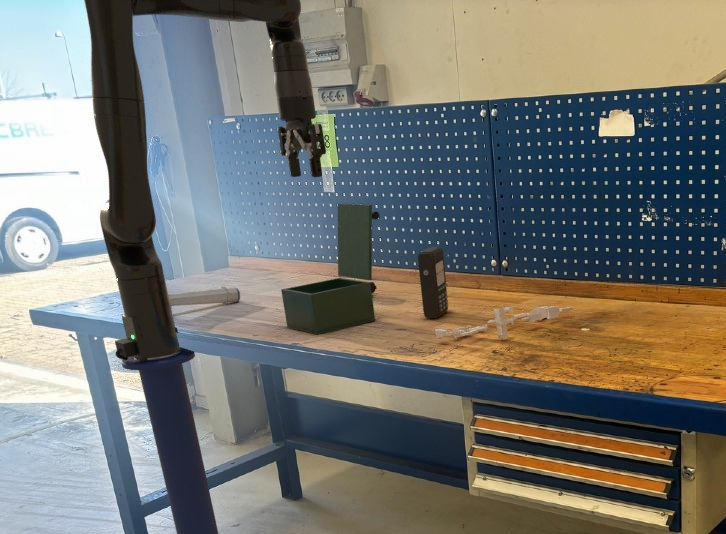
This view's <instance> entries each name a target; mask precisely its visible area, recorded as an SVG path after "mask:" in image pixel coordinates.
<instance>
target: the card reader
mask: <svg viewBox="0 0 726 534" xmlns="http://www.w3.org/2000/svg"><path fill="white" fill-rule="evenodd" d="M444 256H445V255H444V250H443V248H442V247H441V246H431V247H427V248H426V249H424V250H422V251H420V252H419V253H418V255H417V263H418V272H419V273H418V274H419V283H420V292H421V301H422V311H423V315H424V317H425V319H438V318H440V317H441V316H442V315H443V314H445V313H446V312H447V311H448V309H449V303H448V302H449V299H448V297H449V296H448V291H447V280H446V268H445V257H444Z"/></svg>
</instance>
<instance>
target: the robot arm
mask: <svg viewBox="0 0 726 534" xmlns="http://www.w3.org/2000/svg"><path fill="white" fill-rule="evenodd" d="M83 1H84V5H85V6H84V7H85V11H86V16H87V21H88V27H89V35H90V79H91V81H90V82H91V99H92V110H93V119H94V125H95V130H96V135H97V137H98V141H99V143H100V148H101V151H102V154H103V157H104V159H105V164H106V169H107V175H108V176H107V177H108V200H106V201H105V202H104V203H103V204H102V206H101V209H100V211H99V212H100V213H99V222H100V229H101V231H102V236H103V240H104V245H105V248H106V252H107V256H108V259H109V263H110V265H111V266H112V269H113V271H114V272H113V273H114V275H115V279H116V283H117V288H118V293H119V296H120V300H121V305H122V309H123V313H124V314H122V315H121V320H122V324H123V325H122V326H123V328H124V333H125V337H126V338H121V339H117V340H114V344H115V348H116V351H115V357H116V358H118V360H119V359H120V360H128V357H130V356H131V359H133V360H136V361H139V362H141V363H144V362H150V361H159V360H165V359H169V358H172V357H175V356H177V355H179V354H181V349H180V347H181V346H180V342H179V337H178V334H179V331H178V327H176V324H175V320H174V314H173V310H172V309H171V307H172V306H171V305H170V300H169V296H168V294H169V292H168V287H167V281H166V277H165V273H164V272H165V271H164V268H163V263H162V261H161V258H160V257H159V255H158V253H157V251H156V248H155V247H156V246H155V244H154V239H153V235H154V232H155V230H156V225H157V224H156V223H157V217H156V212H155V207H154V202H153V196H152V192H151V191H152V190H151V185H150V179H149V171H148V138H147V137H148V136H147V119H146V118H147V117H146V105H145V104H146V103H145V95H144V88H143V82H142V77H141V72H140V71H141V70H140V67H139V63H138V59H137V55H136V51H135V46H134V45H135V44H134V43H135V42H134V22H133V21H134V18H133V17H138V16H139V17H140V16H174V17H175V16H177V17H185V18H186V17H189V18H195V19H203V20H214V21H224V22H233V23H234V22H235V23H246V22H250V21H254V22H264V24H265V28H266V32H267V35H268V41H269V45H270V57H271V63H272V69H273V84H274V91H275V92H274V93H275V98H276V104H277V105H276V106H277V111H278V118H279V120H280V121H281V122H283V121H284V122H285V125H282V126H278V127H277V132H278V141H279V149H280V150H279V151H280V155H281V156H282V157H285V158H286V159H287V161H288V166H289V173H290V174H289V175H290V177H292V178H297V177H298V178H299V177H302V170H301V164H300V158H299V155H300V151H301V150H304V151H306V154H307V155H308V157H309V159H308V161H309V168H310V174H311V177H312V178H320V177H323V168H322V162H321V158H322V157H323V155H326V154H327V149H326V143H325V136H324V131H323V125H322V123H313V121H312V120H313V119H316V117H317V113H316V106H315V98H314V91H313V85H312V84H313V83H312V80H311V75H310V72H309V65H308V64H309V63H308V58H307V51H306V47H305V44H304V43H303V41H302V34H301V25H300V15H301V12H302V2H301V0H83ZM319 147H320V148H319Z"/></svg>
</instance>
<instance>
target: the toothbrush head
mask: <svg viewBox="0 0 726 534" xmlns="http://www.w3.org/2000/svg"><path fill="white" fill-rule="evenodd" d="M168 296H169V300H170V305H171V310H172V309H173V308H172V307H177V306H178V307H179V306H196V305H210V304H211V305H212V304H223V305H228V304H229V303H239V302H240V300H241V292H240V289H239V288H238V287H226V286H221V287H220V288H213V289H204V290H203V289H202V290H194V291H193V290H192V291H186V292H177V293H168Z"/></svg>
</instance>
